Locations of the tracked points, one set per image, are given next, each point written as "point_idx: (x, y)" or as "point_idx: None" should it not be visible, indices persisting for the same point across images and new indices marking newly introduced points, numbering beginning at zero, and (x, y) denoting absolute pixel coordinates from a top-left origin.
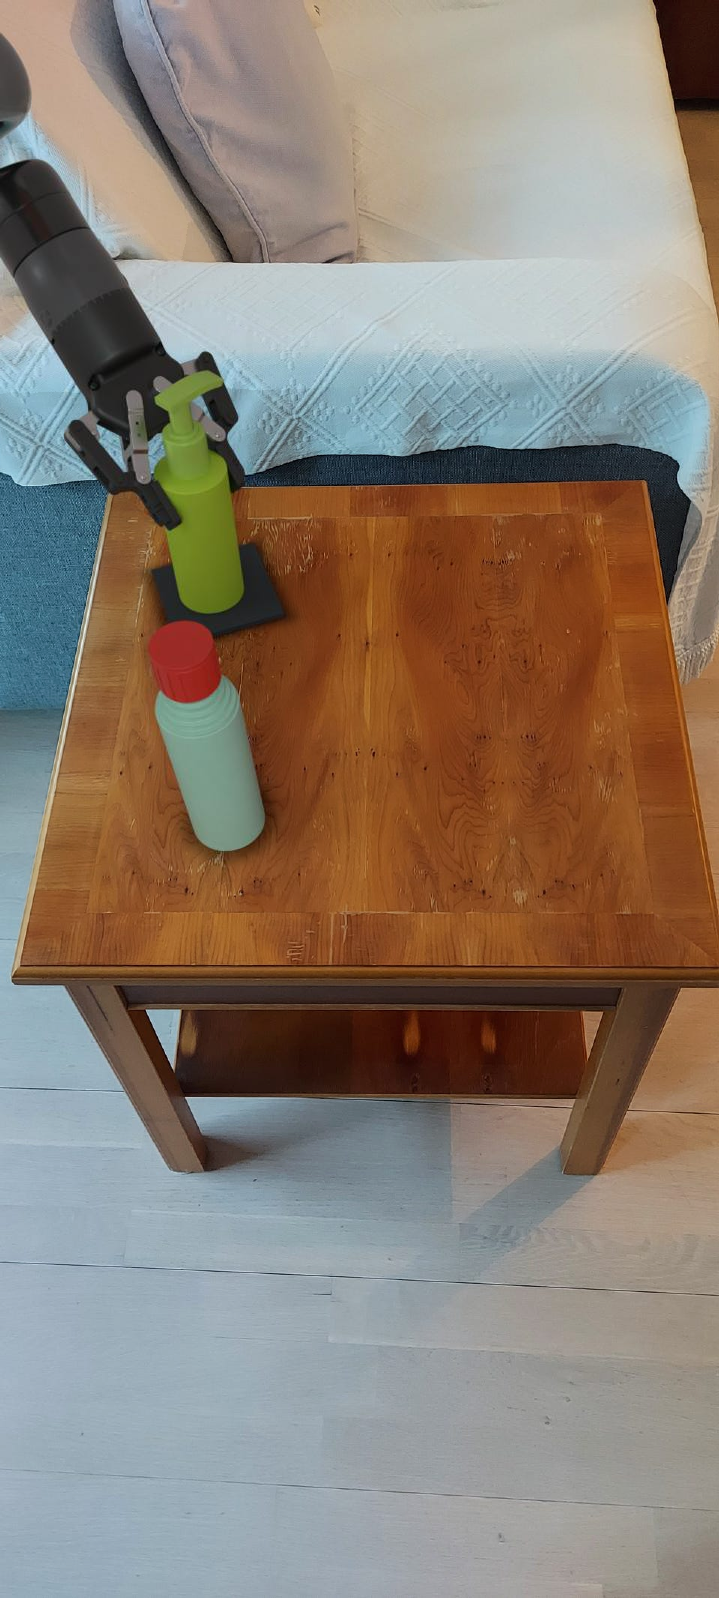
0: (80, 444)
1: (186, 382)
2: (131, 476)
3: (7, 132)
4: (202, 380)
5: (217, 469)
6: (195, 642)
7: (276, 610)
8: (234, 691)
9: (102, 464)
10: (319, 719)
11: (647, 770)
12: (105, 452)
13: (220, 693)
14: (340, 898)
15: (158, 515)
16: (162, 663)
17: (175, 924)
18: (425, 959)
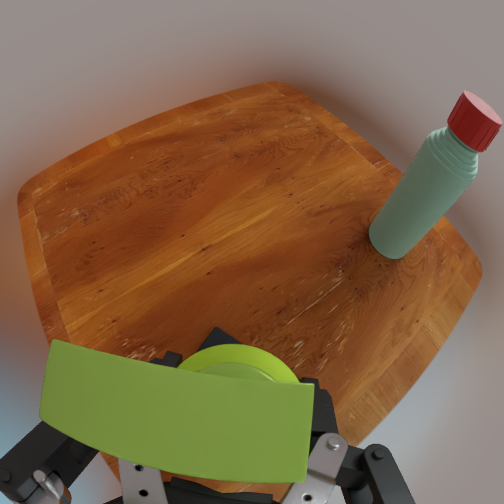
0: None
1: (149, 432)
2: (347, 459)
3: None
4: (99, 385)
5: (205, 365)
6: (474, 98)
7: (218, 334)
8: (431, 133)
9: (401, 483)
10: (292, 237)
11: (210, 104)
12: (387, 500)
13: (446, 127)
14: (370, 170)
15: (331, 401)
16: (495, 112)
17: (436, 224)
18: (359, 135)
